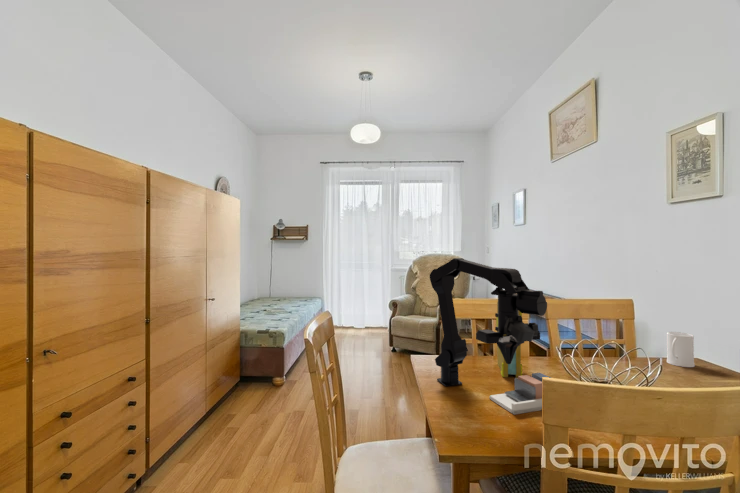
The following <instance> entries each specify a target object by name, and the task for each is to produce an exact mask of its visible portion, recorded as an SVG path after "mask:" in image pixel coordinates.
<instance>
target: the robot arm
mask: <svg viewBox="0 0 740 493" xmlns="http://www.w3.org/2000/svg"><path fill="white" fill-rule="evenodd" d="M461 273H465V274H468V275H471V276H474V277H478V278H482V279H484V280H486V281H488V282H489V283H490V284H491V285H493V286H495V287H496V288H495V289H494V290H492V291H491V292H490V294H491V295H493V296H497V302H498V313H497V312H495V313H494V317H495V318H496V317H498V327H497V326H495V327H494V328H495V331H494V330H491V329H478V330H477V332H476V333H475V340H477V341H479V342H483V343H484V344H488V345H492V344H496V345H498V347H499V349H500V351H501V353H502V355H503V357H504V359H505V362H506V363H507V364H511V362H512V359H513V356H514V354H515V351H516V349H517V347H518V346H519V345H522V344H525V342H528V343H529V342H532V341H533V340H534V341H536V340H541V333H540V330H539V325H538V324H537V323H536V322H529V323H527V322H526V323H525V322H523V315H522V316H521V315H519V314H518V310H519V311H520V312H521V313H522V314H526V315H533V316H538V317H539V316H541V317H543V316H545V315H546V312H547V310H548V302H547V298H546V297H545V295H544V291H543V290H530V288H529V287H528V286H527V285H526V283H525V281H524V280H523V278H522V274H521V273H520V271H519V270H518V269H515V268H511V267H510V268H509V267H492V266H489V265H486V264H482V263H480V262H479V263H478V262H474V261H471V260H468V259H464V258H463V257H454V258H452V259H450V260H449V261H448V262H445V263H444V264H442V265H440V266H438V267H437V268H434V269H433V270H432V271H431V272H430V273H429V281H430V284H431V287H432V289H433V291H435V293H436V295H437V302H438V306H439V311H440V312H439V313H440V319H441V325H442V334H443V337H442V338H443V339H442V341H441V343H440V349H441V352H440V354H439V355H438V356H437V357H435V359H434V360H435V365H436V366H438V367H440V377H438V378H437V379H436V381H437V382H439V383H441V385H442V386H444V387H454V386H459V385H463V381H460V380H459V365H461V364H463V362H464V360H465V359H466V357H467V356H468V355H467V354H468V353H467V352H468V351H469V350H468V348H467V347H468V346H467V341H466V339H465V338H463V339H462V338H461V336H460V335H459V334H460V333H459V330H458V324H457V317H456V310H455V306H454V300H453V299H454V298H453V290H454V288H455V287H454V286H455V278H457V277H458V276H459V275H460V274H461ZM497 331H498V332H497ZM505 334H506V335H505Z"/></svg>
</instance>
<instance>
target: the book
mask: <svg viewBox="0 0 740 493" xmlns="http://www.w3.org/2000/svg"><path fill="white" fill-rule="evenodd" d="M496 309H497V310H496V313H498V301H496ZM518 314H519V315H521V316H522V317H523V313H521V312H520V311H519V310H518ZM495 319H496V326H495V327H498V317H495ZM496 332H498V331H496ZM505 335H506V334H505ZM496 345H497V344H496ZM521 345H522V344H521ZM521 345H519V346H518V347H517V349H516V351H515V354H514V356H513V359H512V362H511V364H507V363H506V362H505V359H504V357H503V355H502V353H501V351H500V349H499V347H498V345H497V348H496V349H497V357H496V358H497V367H498V369H499V370H500V375H501V377H502V378H509V375H514V376H515V378H518V376H523V363H521V362H522V358H521V357H522V356H521V352H522V347H521Z"/></svg>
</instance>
